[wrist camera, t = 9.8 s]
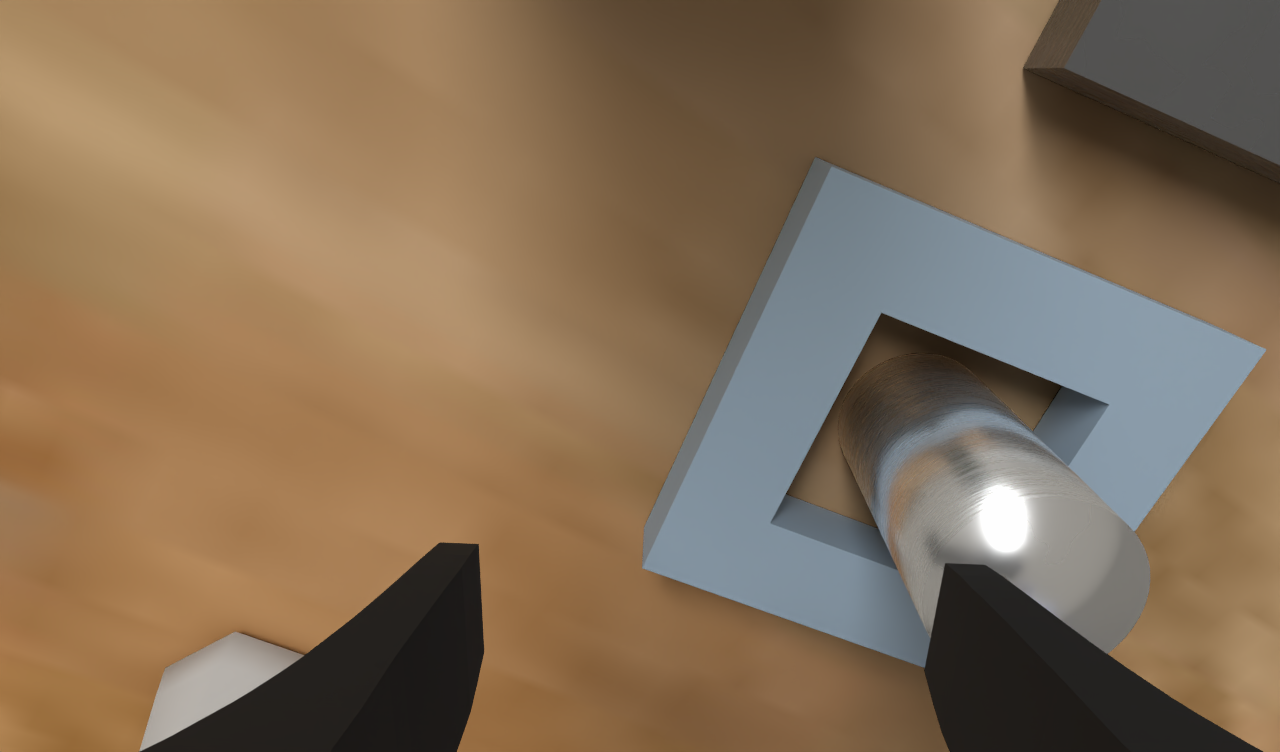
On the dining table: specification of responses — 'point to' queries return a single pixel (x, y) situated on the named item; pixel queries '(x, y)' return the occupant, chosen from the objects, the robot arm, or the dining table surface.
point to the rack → (953, 309)
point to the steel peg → (985, 498)
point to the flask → (212, 682)
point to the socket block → (1176, 69)
